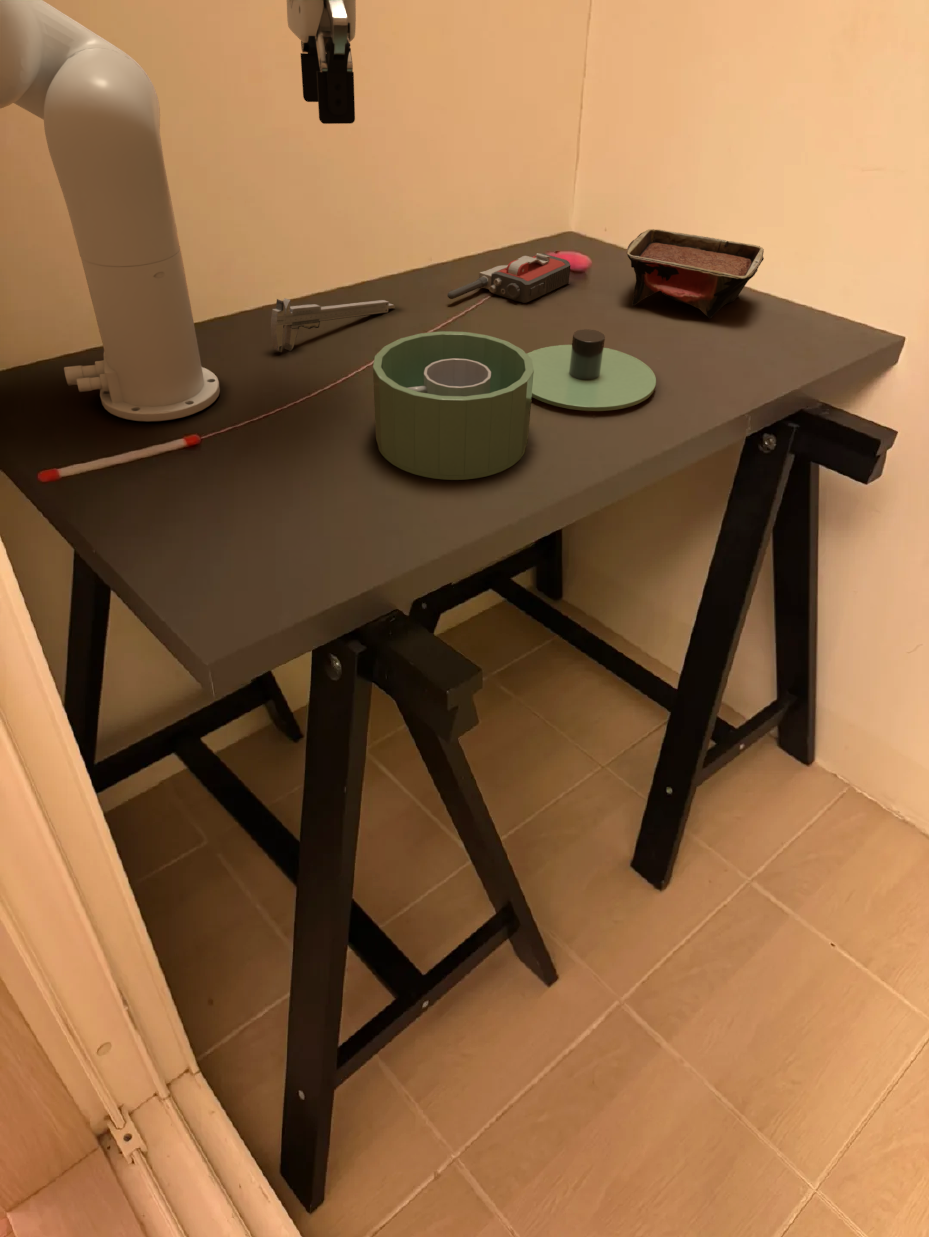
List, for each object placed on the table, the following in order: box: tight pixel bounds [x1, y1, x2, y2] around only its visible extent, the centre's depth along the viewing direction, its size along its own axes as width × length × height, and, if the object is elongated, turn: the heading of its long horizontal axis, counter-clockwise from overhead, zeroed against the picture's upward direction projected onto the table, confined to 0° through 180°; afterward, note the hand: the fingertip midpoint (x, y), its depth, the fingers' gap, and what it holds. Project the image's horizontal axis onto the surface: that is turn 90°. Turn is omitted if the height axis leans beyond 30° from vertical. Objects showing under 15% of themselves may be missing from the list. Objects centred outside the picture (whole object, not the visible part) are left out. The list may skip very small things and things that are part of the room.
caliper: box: [270, 297, 396, 353], centre depth 110 cm, size 20×1×6 cm, turn 140°
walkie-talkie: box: [447, 252, 571, 304], centre depth 122 cm, size 9×4×20 cm
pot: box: [372, 330, 534, 481], centre depth 88 cm, size 16×16×8 cm
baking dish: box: [626, 228, 765, 319], centre depth 121 cm, size 14×18×10 cm
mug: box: [408, 358, 491, 396], centre depth 88 cm, size 9×7×7 cm
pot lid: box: [526, 328, 657, 412], centre depth 100 cm, size 17×17×6 cm
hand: (328, 111), depth 83 cm, fingers open, 9 cm apart
